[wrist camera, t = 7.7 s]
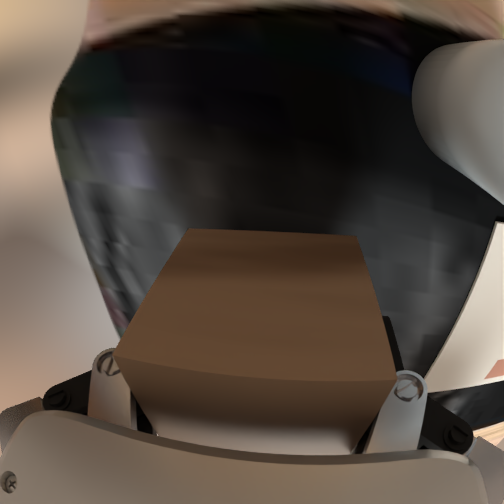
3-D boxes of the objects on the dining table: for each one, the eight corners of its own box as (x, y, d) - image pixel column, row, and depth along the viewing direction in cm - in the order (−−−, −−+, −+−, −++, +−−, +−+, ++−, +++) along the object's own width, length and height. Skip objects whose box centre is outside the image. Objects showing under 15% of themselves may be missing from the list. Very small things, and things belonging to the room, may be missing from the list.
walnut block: (188, 228, 11) (112, 354, 6) (356, 236, 10) (397, 379, 5) (205, 341, 14) (171, 453, 9) (332, 350, 13) (337, 469, 8)
